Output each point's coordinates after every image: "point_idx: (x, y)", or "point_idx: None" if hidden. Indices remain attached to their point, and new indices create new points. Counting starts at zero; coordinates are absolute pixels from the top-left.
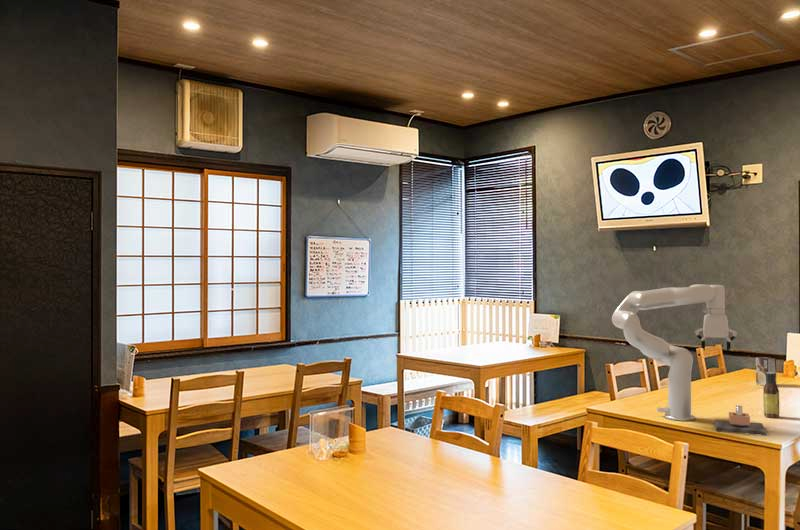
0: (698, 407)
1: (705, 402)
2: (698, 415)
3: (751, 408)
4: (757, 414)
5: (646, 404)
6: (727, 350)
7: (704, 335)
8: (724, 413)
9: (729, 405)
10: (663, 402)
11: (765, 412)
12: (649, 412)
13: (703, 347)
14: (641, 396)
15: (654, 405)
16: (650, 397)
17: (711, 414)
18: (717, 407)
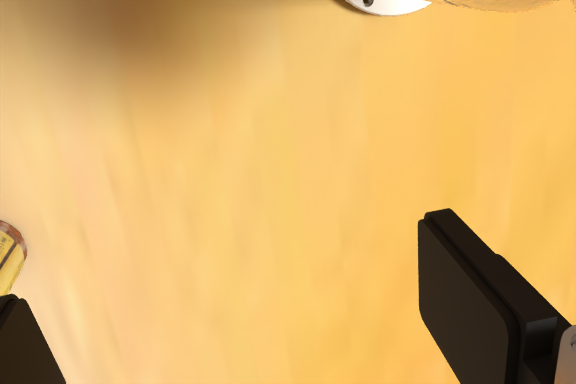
0: (330, 266)
1: (315, 377)
2: (309, 74)
3: (126, 369)
4: (67, 264)
5: (548, 201)
6: (12, 299)
7: None
8: (204, 200)
9: (219, 376)
10: None
11: (5, 235)
12: None
13: (465, 225)
14: None
15: (515, 199)
16: None
17: (255, 139)
18: (256, 311)
